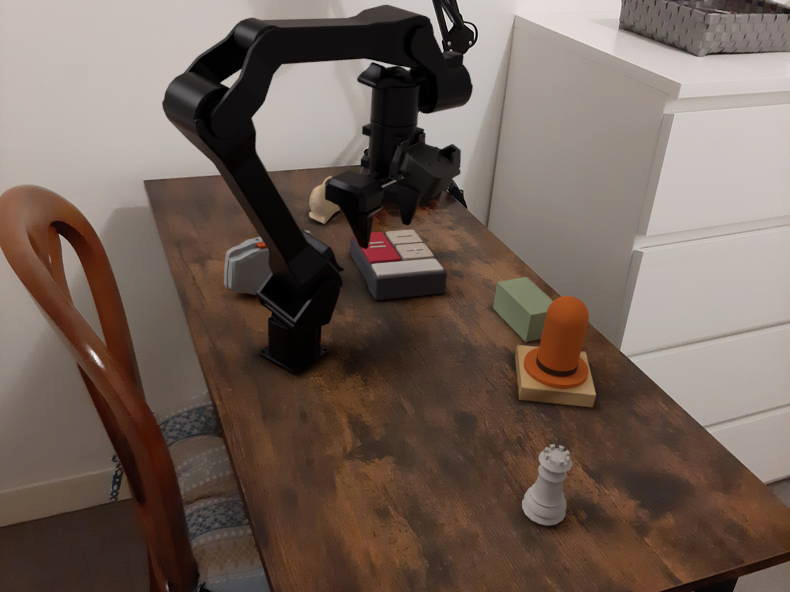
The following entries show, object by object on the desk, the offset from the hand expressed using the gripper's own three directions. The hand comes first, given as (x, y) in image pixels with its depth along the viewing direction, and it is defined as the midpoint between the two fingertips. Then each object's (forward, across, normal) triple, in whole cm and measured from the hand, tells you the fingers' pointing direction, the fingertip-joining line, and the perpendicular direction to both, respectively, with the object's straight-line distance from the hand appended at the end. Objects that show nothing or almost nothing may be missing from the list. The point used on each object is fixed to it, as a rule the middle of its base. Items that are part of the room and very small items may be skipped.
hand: (385, 235), depth 98 cm
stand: (+13, +3, -25) cm, 28 cm away
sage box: (+13, +13, -16) cm, 24 cm away
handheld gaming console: (+13, -4, +17) cm, 22 cm away
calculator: (+13, +12, +6) cm, 19 cm away
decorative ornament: (+11, +20, +28) cm, 36 cm away
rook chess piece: (+13, -17, -34) cm, 40 cm away
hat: (+11, +4, -25) cm, 28 cm away
